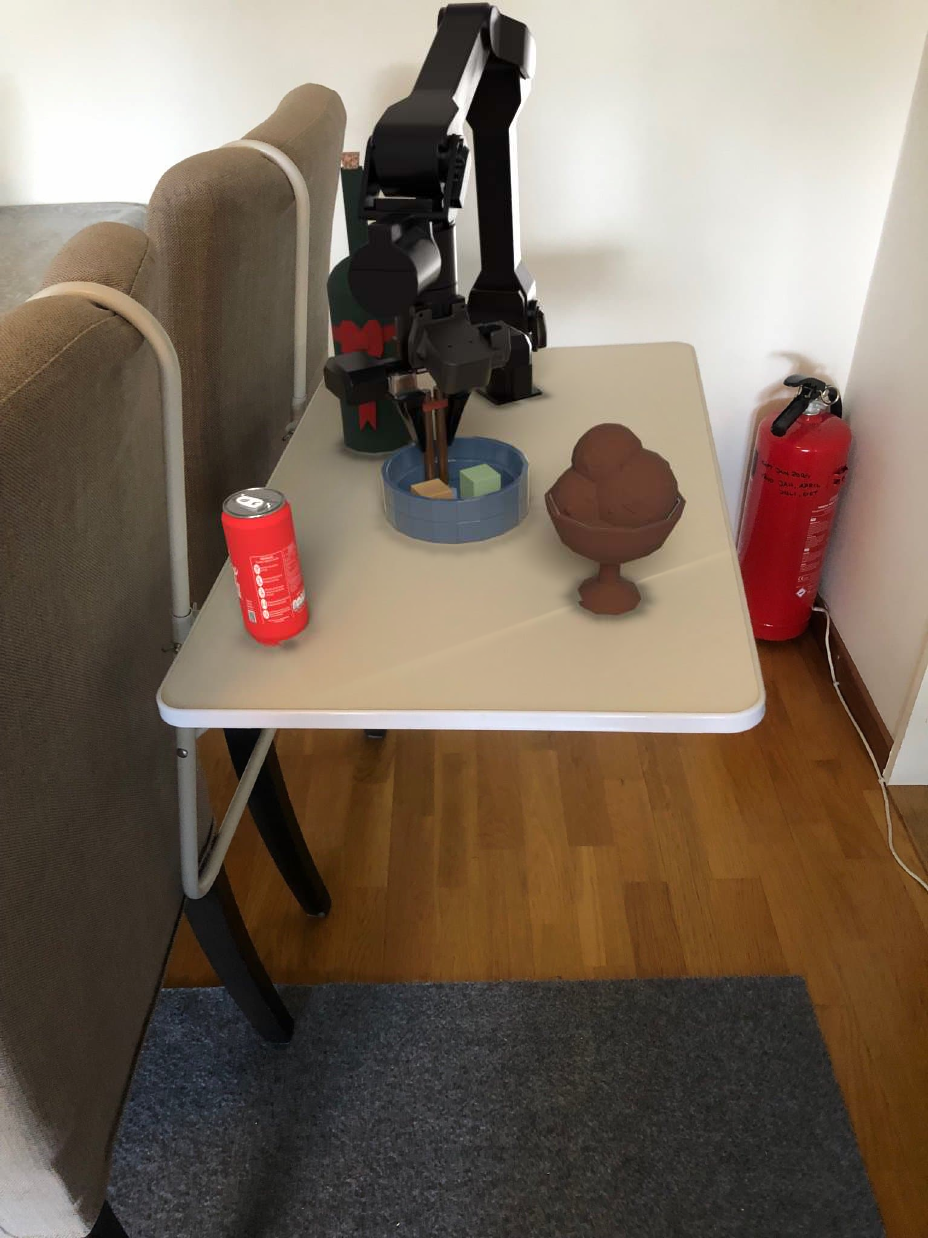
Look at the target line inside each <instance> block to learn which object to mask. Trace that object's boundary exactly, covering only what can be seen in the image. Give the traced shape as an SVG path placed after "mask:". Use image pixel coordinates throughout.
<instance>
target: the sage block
mask: <svg viewBox="0 0 928 1238" xmlns="http://www.w3.org/2000/svg"><path fill="white" fill-rule="evenodd" d="M500 489H501V475H500V474H499V473H497V472H496V471H495V470H493V469H492V468H491V467H490V466H488V465H487V464H482V465H479V466H475V467H471V468H468V469H464V470H460V493H461V498H468V497H476V496H481V495H484V494H488V493H491V492H495V491H498V490H500Z"/></svg>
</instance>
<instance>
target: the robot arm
mask: <svg viewBox="0 0 928 1238" xmlns="http://www.w3.org/2000/svg"><path fill="white" fill-rule="evenodd" d="M536 47H537V46H536V41H535V37H534V36H533V34H532V32H531V31H530V29H529V27H528V25H527V24H525V23H524V22H522V21H520V20H517V19H515V18H512V17H511V16H508V15H506V14H503V13H501V12H500V10H499V8H498V6H496V5H494V4H493V5H492V4H491V3H489V2H488V1H487V2H485V1H484V2H458V3H448V4H447V5H446V6H441V7H440V9H438V14H437V20H436V33H435V35H434V37H433V40H432V43H431V44H430V47H429V49H428V52H427V54H426V55H425V59H424V61H423V63H422V65H421V68H420V70H419V73H418V75H417V77H416V80H415V81H414V82H415V83H414V85H413V87H412V90H411V91H410V93H409V94H408V96H407V97H404V98H402V99H400V100H399V101H397V102H395V103H393V104H390V105H389V106H388V107H387V108H386V109H385V111H384V112H383V114H382V115H381V116H380V117H379V119H378V121H377V122H376V123H375V125H374V127H373V129H372V133H371V135H370V136H368V139H367V142H366V146H365V152H364V153H365V154H364V161H363V166H362V167H363V175H362V182H361V190H360V197H359V205H358V213H357V217H358V220H364V221H368V222H369V221H370V222H371V221H372V222H371V223H368V228H367V230H368V241H369V242H367V243H366V244H364V245H363V246H362V247H360V248H359V249H358V250H357V251H356V253H355V254H354V255H353V257H352V260H351V262H350V266H349V271H348V273H347V275H348V283H349V288H350V291H351V293H352V295H353V297H354V299H355V300H356V301H357V303H358V304H359V305H360V306H361V307H362V308H363V309H364V310H365V311H367V312H368V313H370V314H372V315H374V316H377V317H381V318H393V317H395V329H396V336H393V337H391V344H392V348H393V349H394V350H396V351H397V353H398V356H396V357H392V358H387V359H382V360H376V359H375V358H374V357H372V356H371V355H370V354H368V353H367V352H365V351H364V350H361V351H357V352H352V353H347V354H342V355H337V356H335V355H333V356H329V357H328V358H327V360H326V362H325V364H324V366H323V368H322V373H323V380H324V387H325V388H326V389H327V390H328V391H329V392H330V393H332V395H334V396H335V397H336V398H337V399H338V400H339V401H340V400H341V401H342V402H343V403H344V404H345V405H348V406H358V405H362V404H366V403H371V402H375V401H379V400H382V399H383V398H384V396H386V397H387V398H388V399H390V400H391V401H392V402H393V403H394V404H395V406H396V408H397V409H398V411H399V413H400V415H401V417H402V419H403V421H404V423H405V425H406V427H407V429H408V431H409V433H410V435H411V437H412V439H411V440H412V441H413V443H415V445H416V447H417V449H418V450H419V451H420V452H421V453H425V452H426V433H425V425H424V417H423V409H422V404H423V401H424V399H425V397H426V393H425V392H423V391H422V390H421V389H422V388H419V387H418V380H417V379H418V377H417V376H418V375H422V374H427V373H428V374H429V376H430V377H431V378H432V380H433V381H434V382H435V386H437V387H438V389H439V390H440V391H441V392H443V393H445V397H446V398H447V399H448V406H446V426H447V446H448V447H449V446H452V444H453V441H454V438H455V436H457V431H458V428H459V426H460V422H461V420H462V416H463V413H464V410H465V407H466V405H467V403H468V400H469V398H470V396H471V395H472V393H474V391H476V392H477V393H479V394H480V395H482V396H483V397H485V398H486V399H488V400H490V401H491V402H492V403H494V404H496V405H498V406H502V405H506V404H510V403H514V402H519V401H523V400H526V399H530V398H534V397H539V396H542V395H543V389H541V388H540V387H537V386H536V385H534V384H533V374H534V373H533V372H534V371H533V367H534V365H533V353H539V350H542V349H546V348H547V347H548V327H547V322H546V321H547V320H546V316H545V313H544V311H543V307H542V304H541V300H540V299H537V290H536V289H537V288H536V279H535V278H534V276H533V274H532V273H531V272H530V270H529V268H528V267H527V266H526V264H525V263H524V262H523V260H522V258H521V257H522V255H521V230H520V229H521V228H520V227H521V226H520V201H519V198H520V197H519V172H518V147H517V146H518V141H517V139H518V138H517V120H518V117H519V115H520V112H521V111H522V108H523V107H524V104H525V102H526V101H527V98H528V96H529V94H530V92H531V88H532V87H531V85H532V84H531V83H532V81H531V80H532V79H534V76H535V73H536V63H537V49H536ZM465 121H466V123H467V125H468V126H469V128H470V129H471V133H472V145H473V156H472V152H471V150H470V149H469V148H468V141H467V138H466V136H465V135H464V131H463V125H464V123H465ZM472 157H473V158H472ZM473 159H474V162H473V161H472V160H473ZM472 162H473V163H474V176H475V177H474V178H475V192H476V208H477V226H478V239H479V240H478V241H479V254H480V255H479V256H480V271H479V273H478V275H477V277H476V279H475V282H474V283H473V285H472V286H471V289H470V290H469V293H468V296H467V301H466V296H463V295H462V294H459V281H458V260H457V259H458V257H457V255H458V254H457V231H456V230H457V229H456V223H455V222H456V220H455V219H456V218H457V215H458V210H459V209H464V205H465V199H466V193H467V188H468V183H469V179H470V174H471V169H472ZM381 193H382V195H383V196H384V197H380V194H381Z"/></svg>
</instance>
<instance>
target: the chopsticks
mask: <svg viewBox="0 0 928 1238" xmlns="http://www.w3.org/2000/svg"><path fill="white" fill-rule="evenodd" d="M420 389H421V390H422V391H423V392H425V393H426V397H425V399H424V401H423V404H422V409H423V417H424V425H425V433H426V452H425V453H423V455H424V470H425V482H426V481H430V480H434V479H436V465H435V448H434V438H436V452H437V469H438V479H440V480H441V481H442V482H443V483H444V484H445V485H446V486H448V485H449V465H448V446H447V426H446V406H448V399H447V398H446V397H445V393H443V392H441V391H440V390H439V389H438V387H437V386H436V385H434V386H433V387H432V390H431V388H420ZM432 395H433V396H432ZM433 414H434V415H433ZM434 432H435V434H434Z"/></svg>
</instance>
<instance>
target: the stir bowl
mask: <svg viewBox="0 0 928 1238" xmlns="http://www.w3.org/2000/svg"><path fill="white" fill-rule="evenodd" d="M434 448H435V465H436V479H437V478H438V469H437V452H436V437H434ZM482 464H487V465H488V466H490V467H491V468H492V469H493V470H495V471H496V472H497V473H499V474H500V475H501V489H500V490H498V491H495V492H491V493H488V494H484V495H481V496H476V497H468V498H461V493H460V470H464V469H468V468H471V467H475V466H479V465H482ZM448 465H449V485H448V487H449V488H450V489H451V490H452V499H445V498H430V497H425V496H420V495H415V494H412V493H411V485H415V484H419V483H422V482H425V470H424V455H423V453H421V452H420V451H419V450H418V449H417V447H416V445H415V443H414V442H412V443H408V444H407V445H406V446H403V447H401V448H398V449H396V450H394V452H392V454H390V455H389V456H388V457H386V458H385V460H384V462H383V464H382V466H381V469H380V478H381V479H380V480H381V486H382V487H381V488H382V497H383V498H382V499H383V508H384V514H385V517H386V521H387V522H388V523H389V525H391V526H392V527H393V528H394V529H395V531H398V532H399V533H402V534H404V535H406V536H408V537H410V538H412V539H416V540H420V541H425V542H429V543H435V544H466V543H473V542H481V541H485V540H489V539H492V538H495V537H498V536H501V535H504V534H506V533H507V532H509V531H511V530H512V529H514V528H516V527H518V526H519V525H520V524H521V523H522V521H523V520H524V519H525V518H526V517H527V516H528V514H529V507H530V462H529V460H528V458H527V456H526V455H525V453H524V452H523V451H521V450H520V449H519V448H517V447H515V446H514V445H512V444H510V443H507V442H504V441H502V440H498V439H495V438H490V437H485V436H478V435H455V438H454V441H453V444H452V446H449V447H448Z"/></svg>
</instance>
